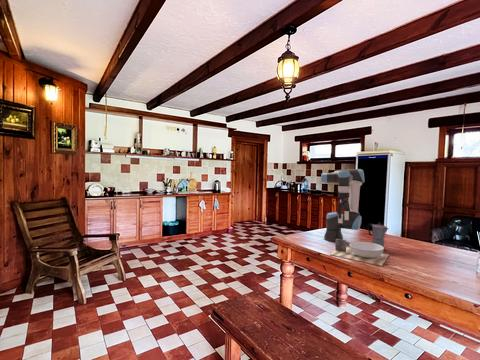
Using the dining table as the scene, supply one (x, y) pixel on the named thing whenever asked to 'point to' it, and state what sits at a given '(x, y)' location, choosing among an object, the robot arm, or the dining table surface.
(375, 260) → the serving board
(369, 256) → the serving bowl
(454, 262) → the dining table surface
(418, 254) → the dining table surface
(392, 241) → the dining table surface
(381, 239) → the moka pot
